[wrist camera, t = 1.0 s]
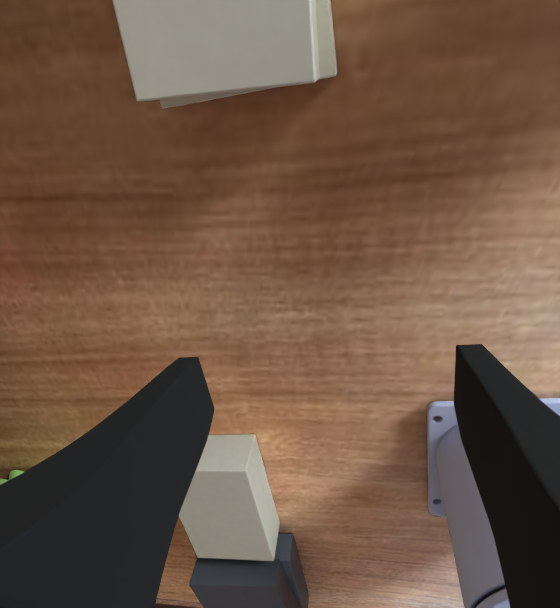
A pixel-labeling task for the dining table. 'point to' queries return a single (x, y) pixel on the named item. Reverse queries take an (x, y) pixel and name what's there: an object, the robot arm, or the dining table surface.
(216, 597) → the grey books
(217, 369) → the dining table surface
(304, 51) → the white books
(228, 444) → the white book
